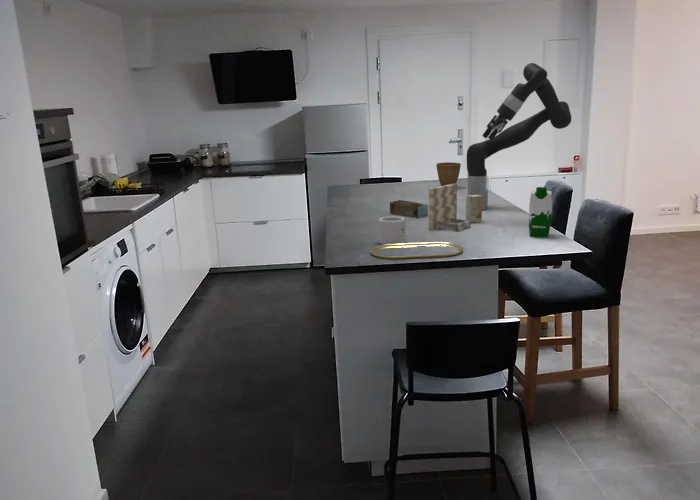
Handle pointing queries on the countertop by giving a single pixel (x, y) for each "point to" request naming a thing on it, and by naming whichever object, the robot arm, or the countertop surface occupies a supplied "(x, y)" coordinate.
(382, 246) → the serving platter
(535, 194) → the milk carton
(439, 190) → the board
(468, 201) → the skincare box
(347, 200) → the countertop surface
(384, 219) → the mug
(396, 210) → the beverage carton
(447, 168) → the plant pot
